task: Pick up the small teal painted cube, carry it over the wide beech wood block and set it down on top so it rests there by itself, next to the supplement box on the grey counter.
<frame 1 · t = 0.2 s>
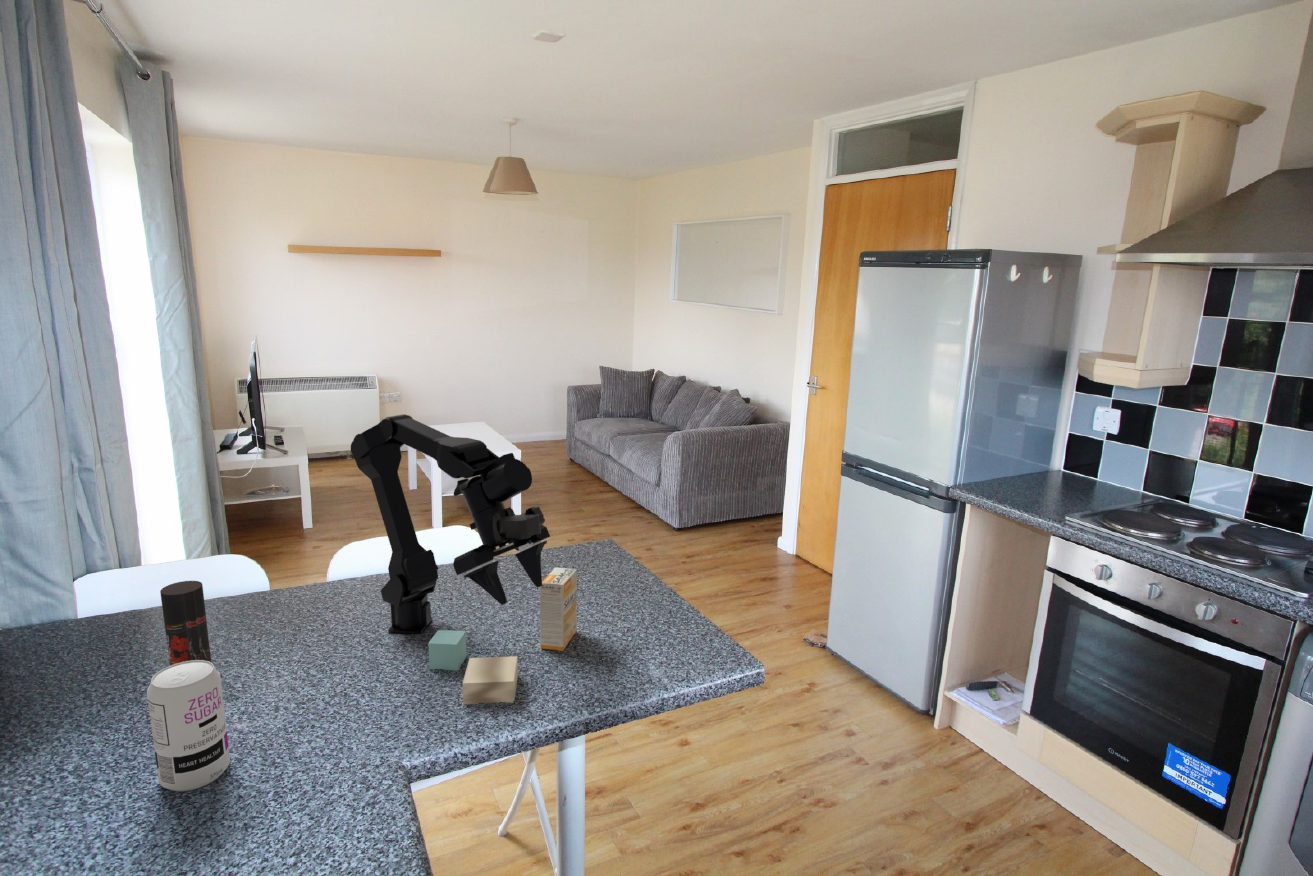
hand: (522, 595, 122), 14 cm above the breakfast bar, tool tilted 30°, fingers open, 9 cm apart
deodorant: (191, 670, 124), on the breakfast bar
supplement box: (559, 641, 137), on the breakfast bar
teal cube: (448, 663, 128), on the breakfast bar
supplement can: (196, 775, 98), on the breakfast bar
beech block: (491, 691, 120), on the breakfast bar
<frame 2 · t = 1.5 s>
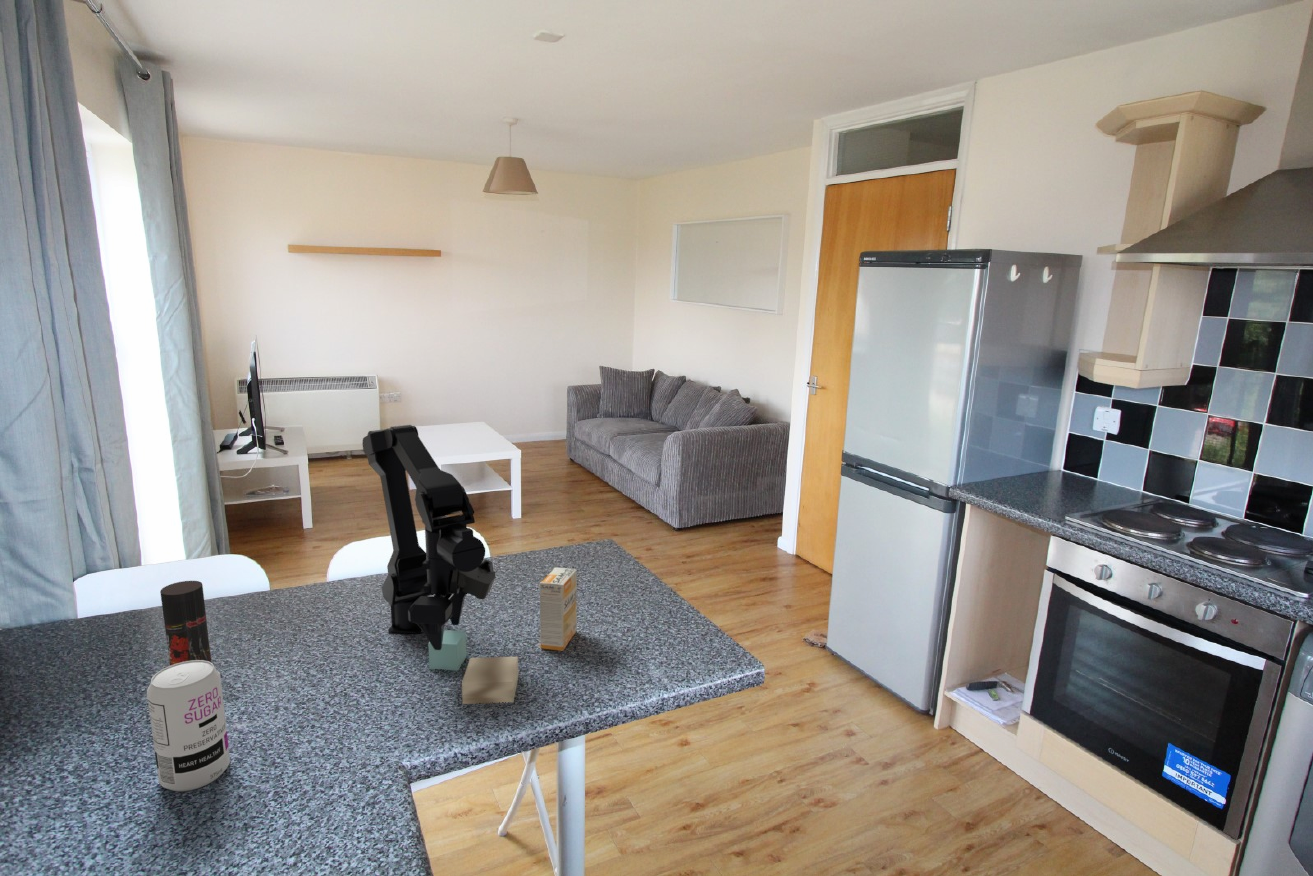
hand: (447, 636, 127), 5 cm above the breakfast bar, tool pointing down, fingers open, 9 cm apart
nothing on the breakfast bar moved.
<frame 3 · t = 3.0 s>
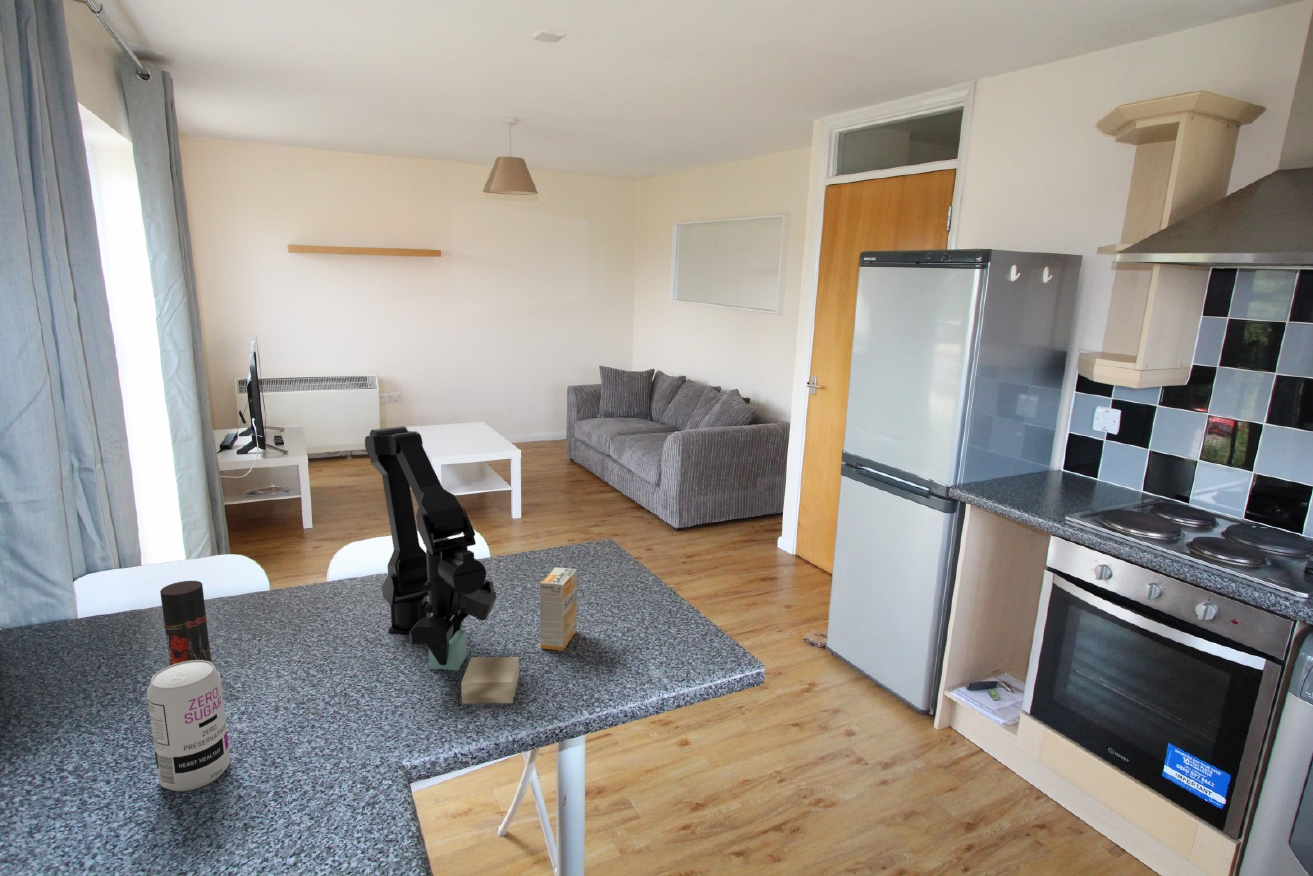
hand: (448, 657, 128), 1 cm above the breakfast bar, tool pointing down, fingers closed on teal cube, 5 cm apart
teal cube: (448, 662, 128), on the breakfast bar, touching gripper
everything else where it was.
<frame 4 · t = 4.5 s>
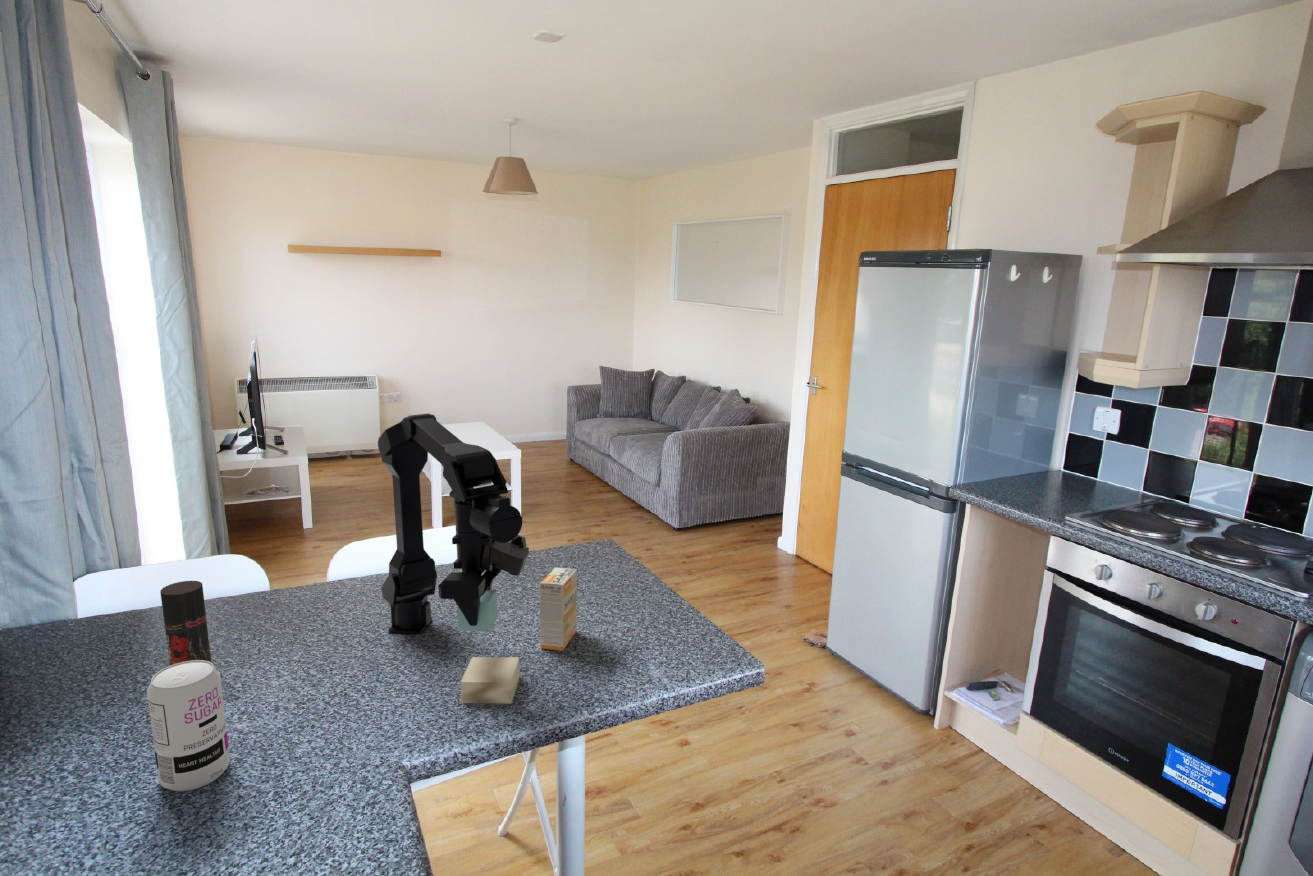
hand: (478, 618, 119), 12 cm above the breakfast bar, tool pointing down, fingers closed on teal cube, 5 cm apart
teal cube: (478, 624, 119), point 11 cm above the breakfast bar, touching gripper
everything else where it was.
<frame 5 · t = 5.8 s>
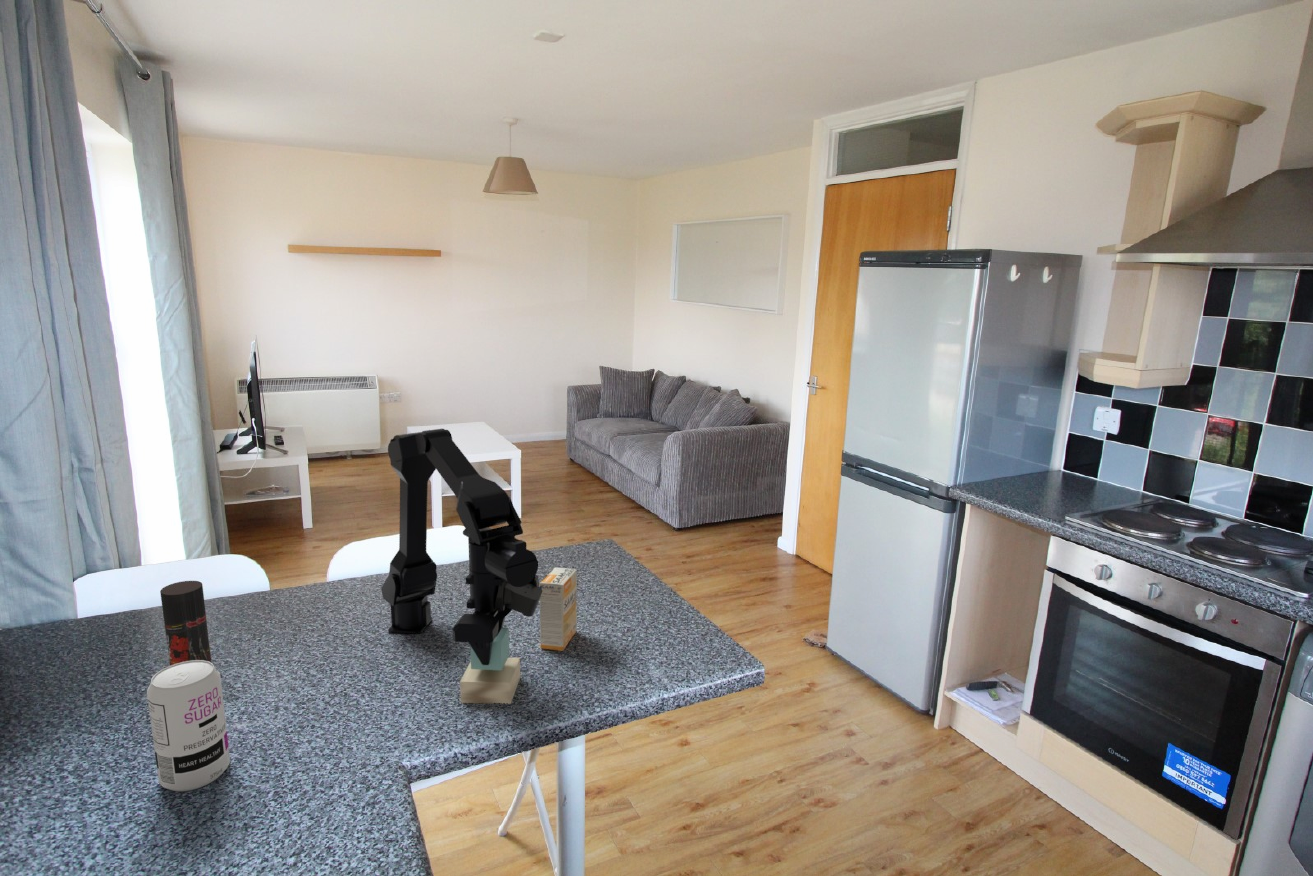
hand: (490, 656, 119), 6 cm above the breakfast bar, tool pointing down, fingers closed on teal cube, 5 cm apart
teal cube: (490, 662, 119), point 5 cm above the breakfast bar, touching gripper
everything else where it was.
when the fingers open (6 cm above the breakfast bar, at t = 6.4 s): teal cube drops 1 cm, point 4 cm above the breakfast bar.
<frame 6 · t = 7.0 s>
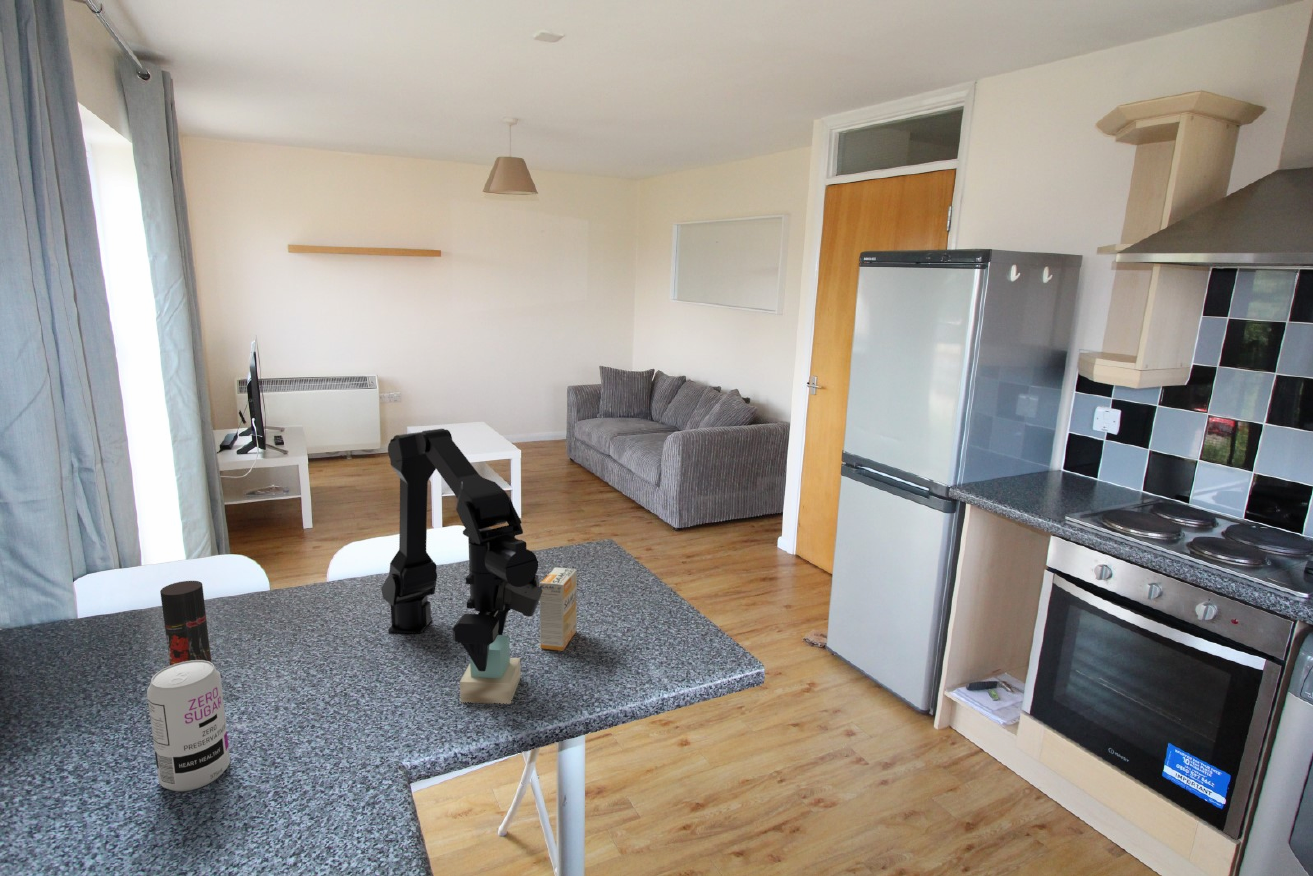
hand: (490, 656, 119), 6 cm above the breakfast bar, tool pointing down, fingers open, 9 cm apart
teal cube: (490, 669, 119), point 4 cm above the breakfast bar
everything else where it was.
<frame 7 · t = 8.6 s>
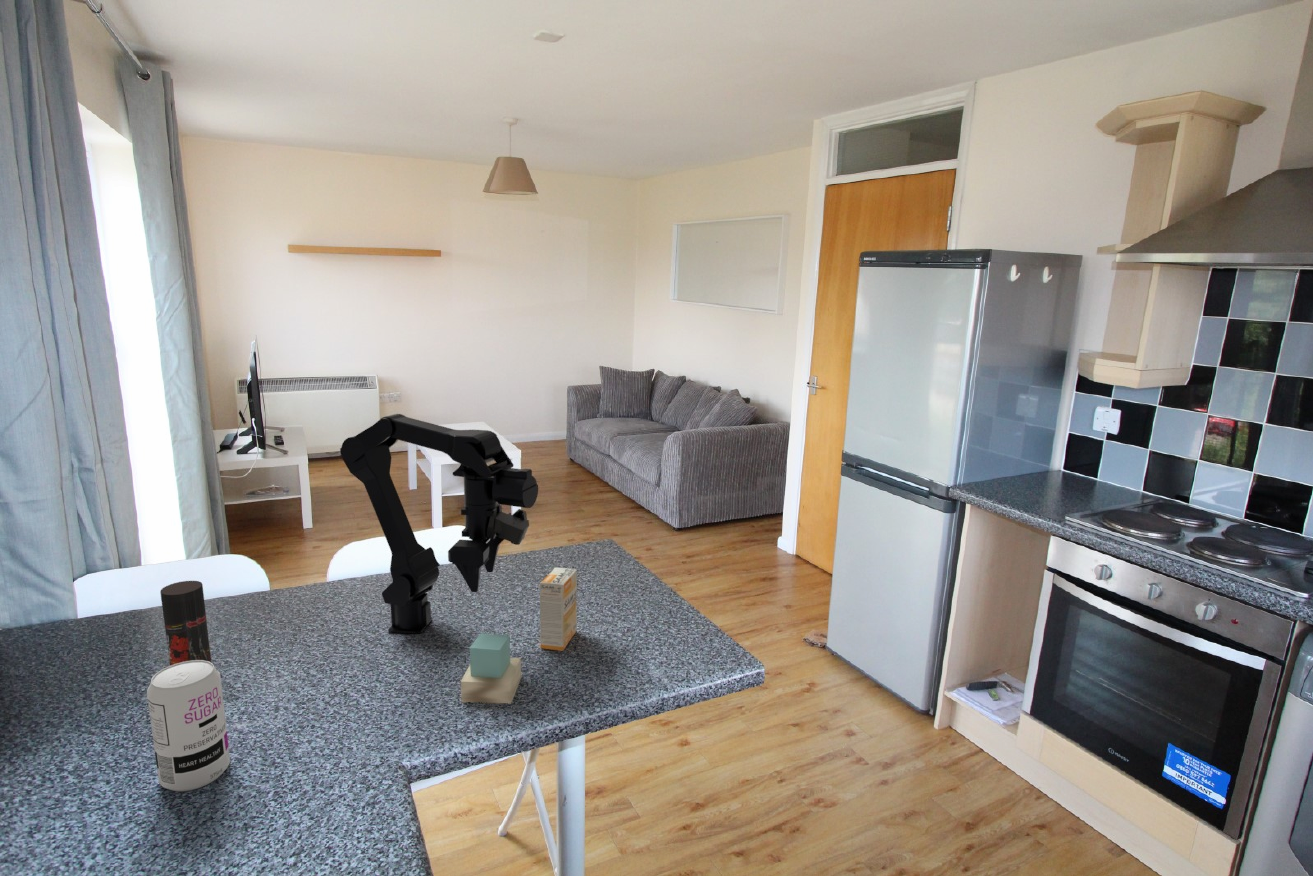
hand: (482, 581, 134), 12 cm above the breakfast bar, tool pointing down, fingers open, 9 cm apart
nothing on the breakfast bar moved.
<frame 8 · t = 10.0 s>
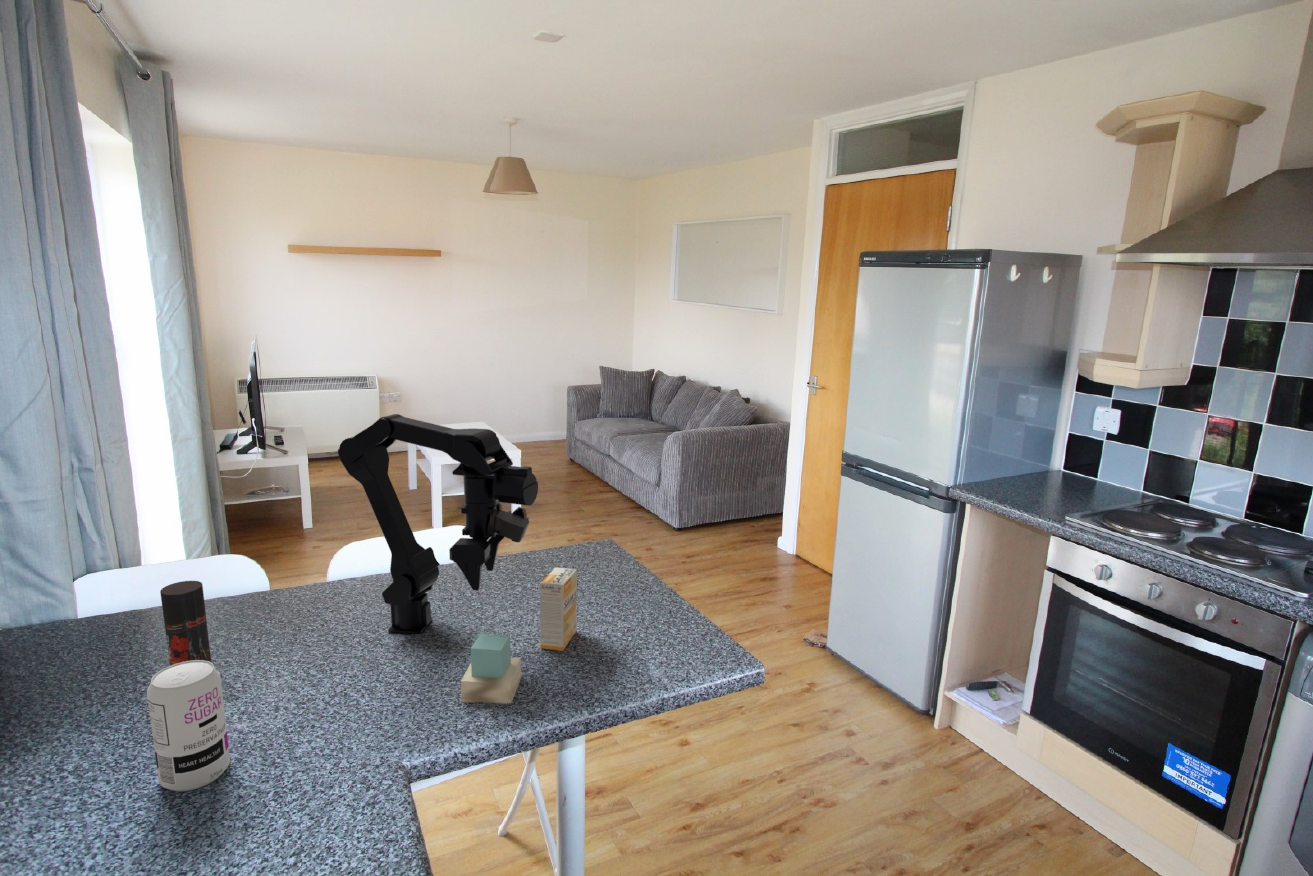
hand: (483, 579, 134), 12 cm above the breakfast bar, tool pointing down, fingers open, 9 cm apart
teal cube: (491, 669, 119), point 4 cm above the breakfast bar, touching beech block
beech block: (492, 691, 120), on the breakfast bar, touching teal cube
everything else where it was.
at the end: teal cube 0.2 cm off-centre on the beech block, point 4.0 cm above the beech block's base; teal cube tilted 0°; the gripper is holding nothing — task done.
